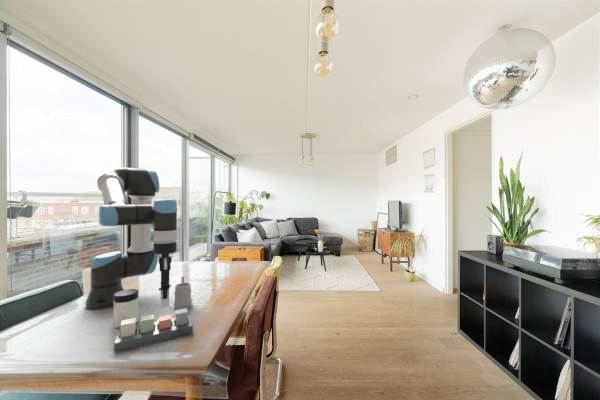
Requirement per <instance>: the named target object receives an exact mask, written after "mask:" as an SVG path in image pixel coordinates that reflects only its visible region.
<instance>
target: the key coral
mask: <svg viewBox="0 0 600 400" xmlns="http://www.w3.org/2000/svg"><path fill="white" fill-rule="evenodd" d="M171 318H172V314H166V315H161V316H158V321H159V329H164V328H169V327H171Z"/></svg>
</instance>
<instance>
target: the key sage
mask: <svg viewBox="0 0 600 400" xmlns="http://www.w3.org/2000/svg"><path fill="white" fill-rule="evenodd" d="M154 321H155V314H148V315H143V316H140V319H139V324H140V334H141V333H145V332H150V331H154Z"/></svg>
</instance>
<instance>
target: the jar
mask: <svg viewBox="0 0 600 400" xmlns="http://www.w3.org/2000/svg"><path fill="white" fill-rule="evenodd" d="M112 307H113V310H112V311H113V312H112V315H113V316H112V322H113V323H112V324H113V327H114V328H115V329H117V328H118V329H119V328H121V322H122V320H126V319H132V318H136V323H139V322H140V309H139V308H140V297H139V289H135V288H131V289H128V288H127V289H124V290H122V291H119V292H116V293H115V294H114V300H113V306H112Z"/></svg>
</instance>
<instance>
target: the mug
mask: <svg viewBox="0 0 600 400" xmlns="http://www.w3.org/2000/svg"><path fill="white" fill-rule="evenodd" d="M180 277H181V279H180V281H181V282H180V283H177V284H176V285H175V288H174V289H175V290H174V292H173V294H174V302H173V306H174V309H175V310H180V309H185V308H187V309H188V308H191V307H192V303H193V300H192V289H191V287H192V286H191V283H190V282H185V276H180Z"/></svg>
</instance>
